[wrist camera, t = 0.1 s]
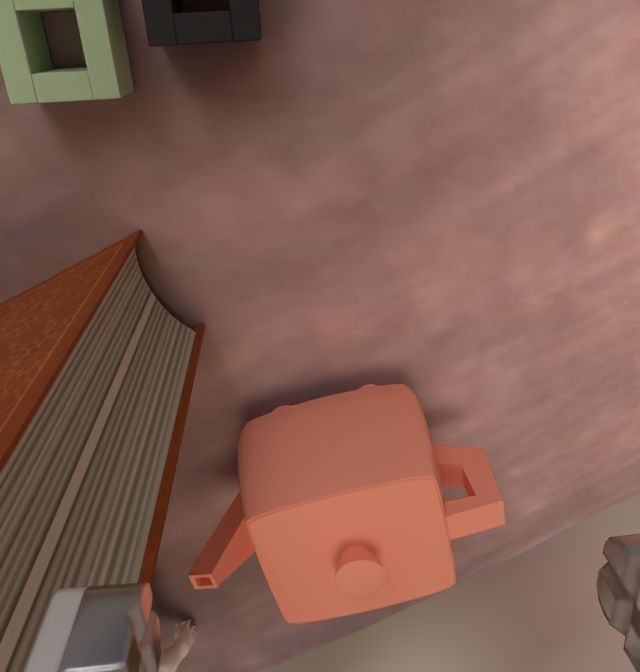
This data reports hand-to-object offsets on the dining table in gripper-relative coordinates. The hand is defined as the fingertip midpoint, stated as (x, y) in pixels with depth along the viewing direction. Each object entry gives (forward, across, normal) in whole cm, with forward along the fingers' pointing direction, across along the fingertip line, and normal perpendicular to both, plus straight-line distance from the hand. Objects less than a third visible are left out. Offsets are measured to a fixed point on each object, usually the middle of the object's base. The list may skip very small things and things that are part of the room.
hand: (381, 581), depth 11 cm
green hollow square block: (+33, +13, -9) cm, 37 cm away
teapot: (+33, -1, +22) cm, 40 cm away
